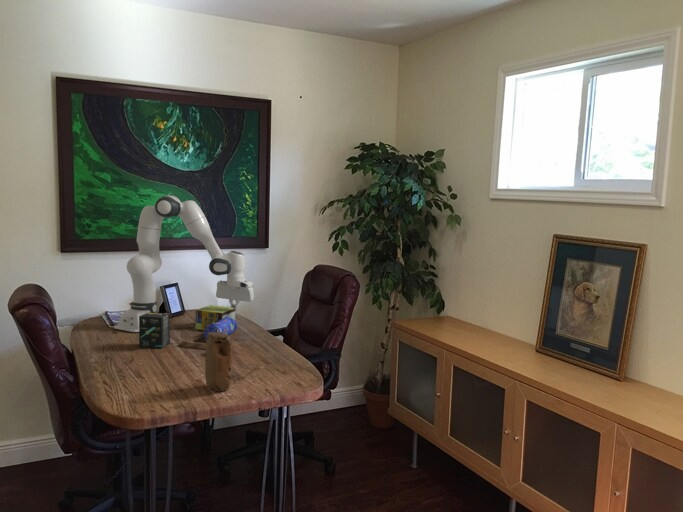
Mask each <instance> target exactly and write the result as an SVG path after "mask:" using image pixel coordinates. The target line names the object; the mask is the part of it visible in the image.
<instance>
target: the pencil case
mask: <svg viewBox="0 0 683 512" xmlns="http://www.w3.org/2000/svg"><path fill="white" fill-rule="evenodd" d="M237 329H238V323H237V320H236V319H235V320H234V319H233V318H230V317H225V318H223V319H222V320H220V321H219V322H216V323H212V324H210V325H208V326H207V327H206V329H205V330H203V331H204V337H203V338H204V339H205V340H206V339H207V334H208V333H212V332H215V333H219V332H223V333H226V334H227V335H228V336H229V335H231V334H233V333H235V332H237Z"/></svg>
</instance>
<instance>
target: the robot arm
mask: <svg viewBox="0 0 683 512" xmlns="http://www.w3.org/2000/svg"><path fill="white" fill-rule="evenodd" d="M173 217H174V218H175V217H179V218H180V219H181V220H182V222H183V224H184V226H185V228H186V229H187V231H188V232H189V234H190V235H191V237H193V238H194V239H196V240H198V241H199V242H201V243H202V244H203V246H204V247H205V249H206V251H207V252H208V254H209V257H210V258H211V260H210V262H209V264H208V267H209V268H208V269H209V271H210V272H211V274H213V275H215V276H224V275H226V280H219V281H217V283H216V292H215V297H216V298H217V299H222V300H223V299H225V300H228V302H229V304H230V307H231V308H235V309H236V310H237V309H238V305H239V303H240V302H248V303H251V302H253V301H254V299H255V297H254V296H255V291H254V288H253V285H254V283H253V282H252V281H249V280H247V279H246V278H245V268H246V258H245V254H244V253H242V252H240V251H235V250H230V251H229V252H226V253H225V252H223V251H222V250H221V248H220V246H219V245H218V242H217V241H216V239H215V237H214V235H213V232H212V229H211V226H210V224H209V222H208V220H207V218H206V215H205V213H204V212H203V210H202V209H201V207H200V205H198V203H197V202H196V201H194V200H191V199H190V200H184V201H182V200H181V199H180V197H178V196H176V195H173V194H172V195H171V194H169V195H164V196H160V197H159V198H158V199H157V200H156V201H155V204H154V205H147V206H144V207H143V208H142V210H141V212H140V216H139V221H138V225H137V234H136V243H137V247H138V254H137V255H134V256H133V257H131V258H130V259H129V260H128V261H127V262H126V270H127V273H128V274H130V278H131V282H132V289H133V297H132V298H133V301H132V302H130V303H129V302H128V305H129V306H130V308H129V309H128V310H126V311H125V312H124V313H123V314H121V315H120V316H119V320H118V323H117V324H116V325H114V327H113V329H115V330H120V331H126V332H130V333H131V332H132V333H139V316H142V315H144V314H146V313H158V312H157V310H158V301H157V285H156V284H155V282H154V279H153V274H154V273H156V272H158V270H160V268H161V267H162V263H163V262H162V258H161V255H160V254H161V253H160V237H161V230H162V224H163V220H164V219H165V218H166V219H167V218H173ZM234 301H235V304H234Z"/></svg>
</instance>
